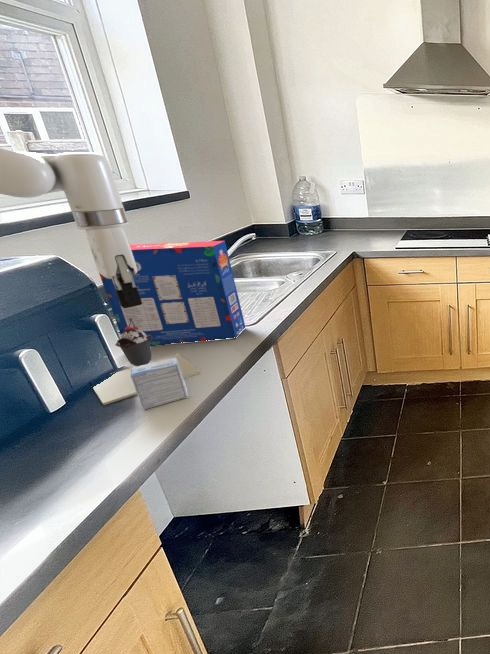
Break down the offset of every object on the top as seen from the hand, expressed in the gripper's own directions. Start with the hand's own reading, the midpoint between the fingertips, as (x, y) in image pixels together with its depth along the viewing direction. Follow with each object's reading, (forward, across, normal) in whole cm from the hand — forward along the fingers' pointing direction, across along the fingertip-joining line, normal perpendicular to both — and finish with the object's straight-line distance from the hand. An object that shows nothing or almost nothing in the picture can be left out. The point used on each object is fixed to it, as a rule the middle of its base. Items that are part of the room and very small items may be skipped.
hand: (131, 305), depth 88 cm
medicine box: (+22, +5, 0) cm, 22 cm away
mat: (+21, -11, 0) cm, 24 cm away
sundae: (+21, -9, 0) cm, 23 cm away
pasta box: (+22, -31, +14) cm, 40 cm away
